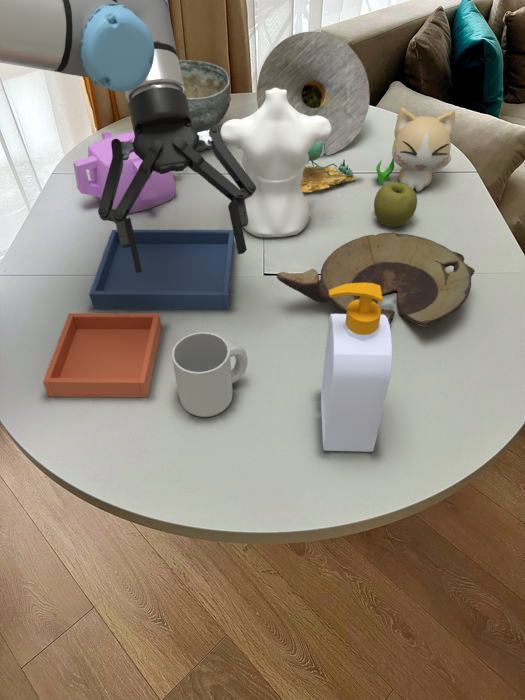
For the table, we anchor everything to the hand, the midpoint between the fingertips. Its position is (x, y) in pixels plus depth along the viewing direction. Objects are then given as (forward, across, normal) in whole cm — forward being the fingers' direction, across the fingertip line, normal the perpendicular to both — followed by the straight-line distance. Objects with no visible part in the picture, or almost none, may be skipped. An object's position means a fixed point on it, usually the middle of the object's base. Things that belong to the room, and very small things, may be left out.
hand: (191, 261), depth 73 cm
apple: (-4, -41, -26) cm, 49 cm away
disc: (-31, -38, -53) cm, 72 cm away
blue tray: (-2, +2, -24) cm, 24 cm away
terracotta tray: (+10, +14, -11) cm, 21 cm away
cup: (+18, 0, -4) cm, 18 cm away
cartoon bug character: (-17, -32, -39) cm, 53 cm away
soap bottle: (+25, -15, +3) cm, 29 cm away
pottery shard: (+9, -29, -13) cm, 33 cm away
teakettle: (-21, +4, -43) cm, 49 cm away
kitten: (-12, -51, -35) cm, 63 cm away
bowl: (-34, -11, -56) cm, 67 cm away
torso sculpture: (-8, -20, -30) cm, 37 cm away
